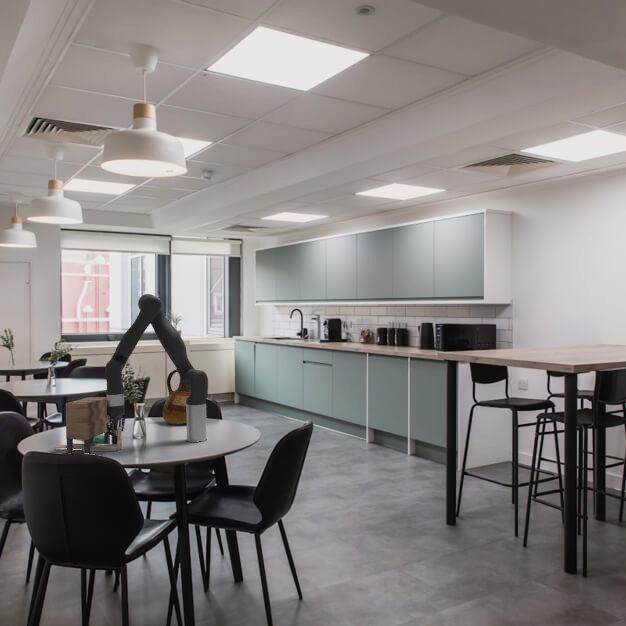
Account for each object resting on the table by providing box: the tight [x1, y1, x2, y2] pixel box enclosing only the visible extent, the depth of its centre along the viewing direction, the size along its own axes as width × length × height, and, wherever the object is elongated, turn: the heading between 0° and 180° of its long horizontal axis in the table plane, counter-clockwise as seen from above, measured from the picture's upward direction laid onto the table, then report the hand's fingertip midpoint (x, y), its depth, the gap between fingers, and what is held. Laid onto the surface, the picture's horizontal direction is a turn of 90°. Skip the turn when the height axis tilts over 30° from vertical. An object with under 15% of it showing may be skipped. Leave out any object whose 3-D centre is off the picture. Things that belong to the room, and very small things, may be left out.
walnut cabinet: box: [65, 396, 111, 454], centre depth 277 cm, size 20×10×22 cm, turn 171°
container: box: [94, 433, 104, 444], centre depth 296 cm, size 6×6×25 cm
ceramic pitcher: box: [161, 368, 191, 425], centre depth 340 cm, size 20×20×30 cm
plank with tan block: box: [65, 427, 123, 452], centre depth 277 cm, size 5×25×10 cm, turn 81°
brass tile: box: [54, 444, 67, 449], centre depth 279 cm, size 5×5×2 cm
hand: (116, 442), depth 275 cm, fingers closed on plank with tan block, 3 cm apart
